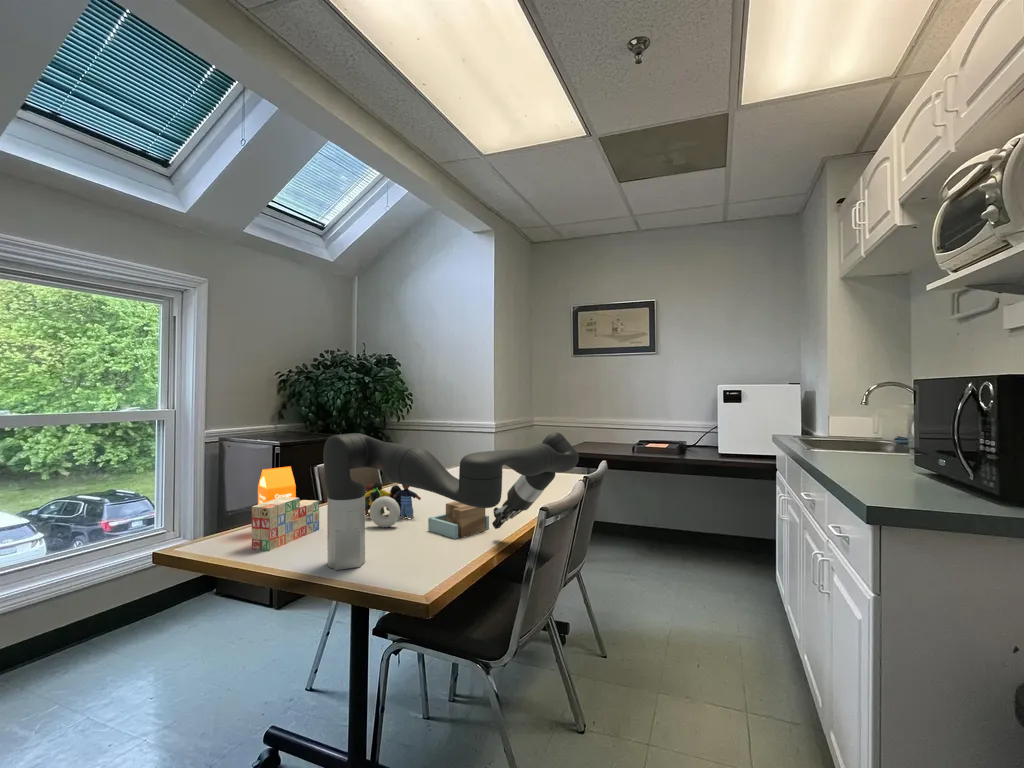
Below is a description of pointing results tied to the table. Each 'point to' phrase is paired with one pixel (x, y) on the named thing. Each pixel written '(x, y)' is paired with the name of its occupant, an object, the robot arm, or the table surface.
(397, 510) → the donut
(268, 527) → the stack of blocks
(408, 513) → the doll family
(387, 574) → the table surface
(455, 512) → the tee block
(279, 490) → the orange juice
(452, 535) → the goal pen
